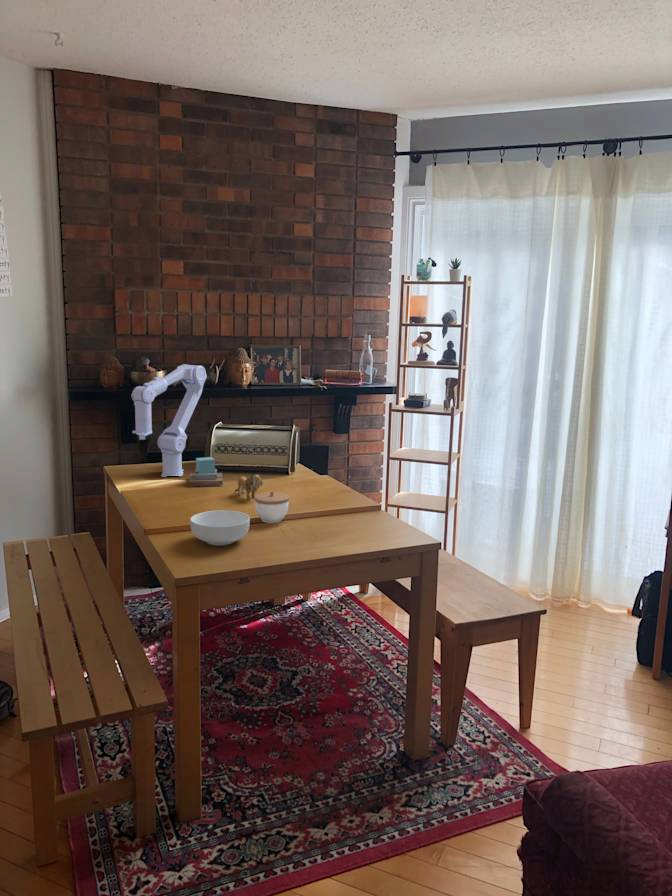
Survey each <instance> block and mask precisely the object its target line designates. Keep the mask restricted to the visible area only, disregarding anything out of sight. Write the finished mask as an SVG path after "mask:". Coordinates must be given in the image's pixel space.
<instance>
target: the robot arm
mask: <svg viewBox="0 0 672 896" xmlns="http://www.w3.org/2000/svg"><path fill="white" fill-rule="evenodd" d="M207 377H208V375H207V372H206V368H205V367H204V366H203V365H193V364H185V363H183V364H181V365H178V366H177V367H176V369H174V370H173V371H171V372H170V373H169V374H167V375H165V376H164V377H161V376H154V377H153V378H152V379H151V381H148V382H145V383H144V382H143V385H142V386H141V385H138V386H136V387H134V389H133V390H132V393H131V394H130V395H131V399H132V401H133V405H134V408H135V409H134V414H135V415H134V416H135V430H132V432H131V433H132V434H136V436H135V441H136V442H137V445H138V448H139V453H140V456H141V457H147V456H148V453H149V448H150V447H149V446H150V443H151V440H152V438H153V436H152V435H151V434H153V429H152V428H153V424H152V423H153V422H152V421H153V420H152V402H154V400H155V398H156V397H157V396H159V395H161V394H162V393H164V392H166V391H167V389H168V386H170V385H173V384H174V383H177V382H179V381H181V382H182V385H183V386H184V388H185V389H186V392H185V394H184V397H183V399H182V401H181V403H180V405H179V407H178V410H177V411H176V414H175V415H174V418H173V420H172V423H171V424H170V426H168V427H167V428H165V429H164V430H163V431H162V433H161V434H160V435H159V436H158V439H157V446H158V448H159V449H160V452H161V454H162V473H161V478H163V477H164V478H168V477H167V476H179V477H183V475H184V472H185V470H184V469H183V466H182V465H183V463H182V462H183V461H182V460H183V459H182V458H183V457H182V453H183V451H184V450H185V448H186V441H187V439H188V435H187V434H186V432H185V431H186V428H187V427H188V424H189V423H190V419H191V417H192V416H193V413H194V411H195V408H196V406H197V405H198V402H199V399H200V398H201V396H202V394H203V393H202V392H203V389H204V384H205V382H206V380H207ZM183 471H184V472H183Z"/></svg>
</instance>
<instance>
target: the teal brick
mask: <svg viewBox="0 0 672 896" xmlns="http://www.w3.org/2000/svg"><path fill="white" fill-rule="evenodd" d="M215 469H216V460H215V458H214V457H212V456H206V457H196V458H195V470H196V472H198V473H199V474H205V473H215Z"/></svg>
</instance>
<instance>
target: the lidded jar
mask: <svg viewBox="0 0 672 896" xmlns="http://www.w3.org/2000/svg"><path fill="white" fill-rule="evenodd" d="M254 497H255V499H254V507H255V512H256V514H257V516H258V518H260V520H261V521H262V522H263V523H266V524H277V523H280V522H282V520H283V519H284V518H285V517H286V515H287V513H288V511H289V505H290V504H289V501H290V495H289V494H286V493H285V492H278V491H275V492H274V491H273V490H270V491H267V492H259V493H258V494H255V495H254Z"/></svg>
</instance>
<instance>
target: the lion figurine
mask: <svg viewBox="0 0 672 896" xmlns="http://www.w3.org/2000/svg"><path fill="white" fill-rule="evenodd" d="M264 483H265V480H263V479H262V478H261V477H260V474H254V475H251V476H249V477H245V476H240V477H239V478H238V481H237V488H236V489H235V490H234V492H235V493H236V492H237V497H241V496H242V494H245V493H246V501H251V499H253V500H255V495H256V494H255V493H256V492H258V490H259V489H260V488H261V487H262V486H263V484H264ZM244 490H245V491H244ZM250 494H251V497H250Z"/></svg>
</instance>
